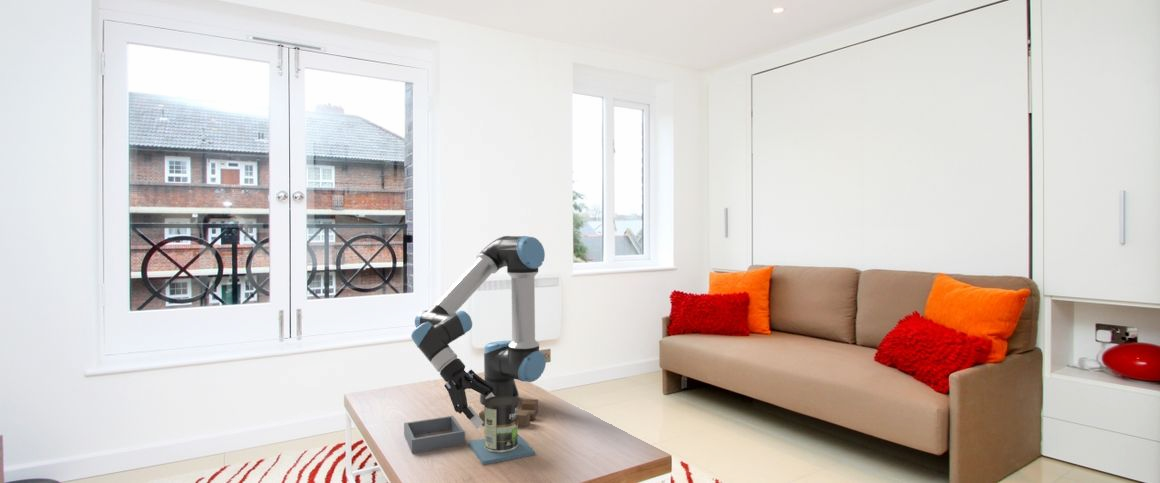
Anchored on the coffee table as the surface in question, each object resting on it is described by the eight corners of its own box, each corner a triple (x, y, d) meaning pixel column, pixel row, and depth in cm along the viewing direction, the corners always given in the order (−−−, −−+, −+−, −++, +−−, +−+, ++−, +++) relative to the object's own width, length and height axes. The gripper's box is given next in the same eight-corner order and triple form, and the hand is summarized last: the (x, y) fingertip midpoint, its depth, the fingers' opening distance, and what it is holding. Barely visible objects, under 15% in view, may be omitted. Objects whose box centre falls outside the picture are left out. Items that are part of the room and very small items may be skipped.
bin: (453, 427, 185) (453, 415, 184) (464, 444, 170) (464, 431, 170) (404, 435, 178) (404, 422, 177) (411, 453, 163) (411, 440, 163)
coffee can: (522, 441, 170) (522, 396, 170) (511, 454, 160) (511, 406, 160) (491, 438, 172) (491, 394, 172) (478, 451, 162) (478, 404, 162)
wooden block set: (529, 412, 184) (478, 409, 187) (529, 429, 184) (478, 425, 187) (540, 397, 201) (494, 394, 204) (540, 412, 201) (494, 409, 204)
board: (517, 436, 177) (517, 433, 177) (535, 454, 162) (535, 451, 162) (468, 444, 170) (468, 441, 170) (482, 464, 155) (482, 461, 155)
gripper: (461, 363, 184) (501, 412, 179) (417, 383, 160) (462, 440, 156) (475, 349, 182) (516, 398, 177) (433, 367, 158) (478, 424, 154)
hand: (491, 418), depth 167 cm, fingers open, 13 cm apart
